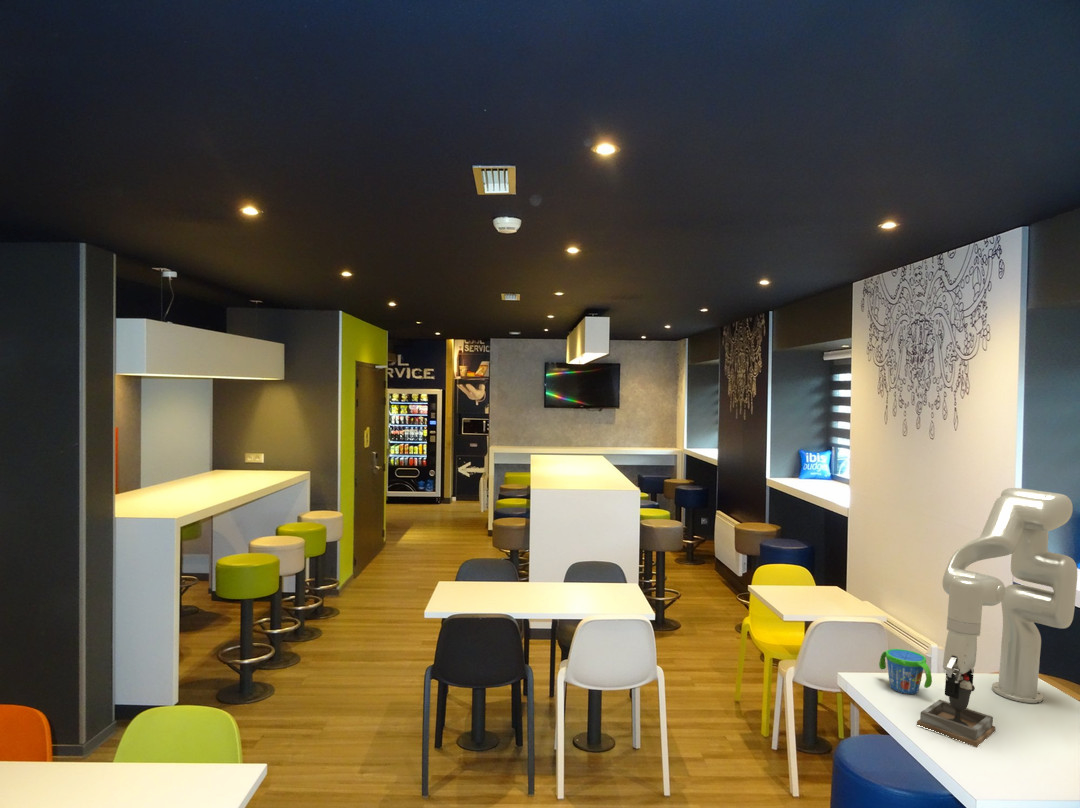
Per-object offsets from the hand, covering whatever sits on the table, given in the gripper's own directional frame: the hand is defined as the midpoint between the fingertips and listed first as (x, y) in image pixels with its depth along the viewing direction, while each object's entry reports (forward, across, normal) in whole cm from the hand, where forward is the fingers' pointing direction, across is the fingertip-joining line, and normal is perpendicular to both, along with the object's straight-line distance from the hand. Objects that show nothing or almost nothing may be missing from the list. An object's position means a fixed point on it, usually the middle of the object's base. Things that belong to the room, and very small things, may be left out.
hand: (958, 692), depth 195 cm
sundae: (+8, 0, 0) cm, 8 cm away
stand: (+9, 0, 0) cm, 9 cm away
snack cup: (+10, -15, -19) cm, 26 cm away
